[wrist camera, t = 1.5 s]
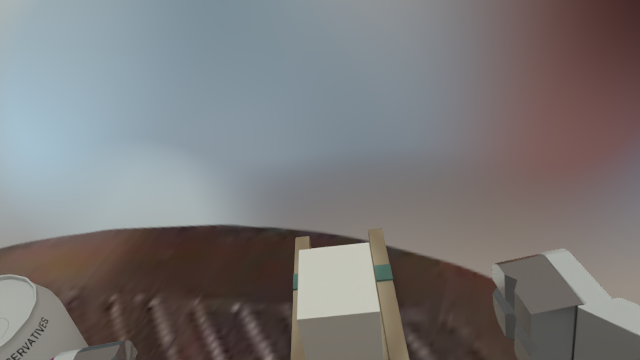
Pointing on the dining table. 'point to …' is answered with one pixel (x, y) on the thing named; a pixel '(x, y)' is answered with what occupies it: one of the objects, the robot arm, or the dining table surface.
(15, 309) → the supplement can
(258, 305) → the dining table surface
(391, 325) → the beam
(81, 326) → the dining table surface
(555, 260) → the robot arm
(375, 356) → the rider
